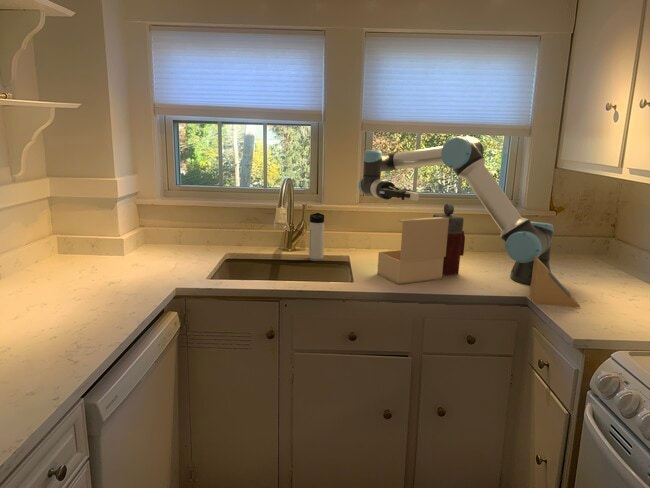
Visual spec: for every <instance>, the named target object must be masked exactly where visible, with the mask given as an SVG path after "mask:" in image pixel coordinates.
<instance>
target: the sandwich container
mask: <svg viewBox="0 0 650 488" xmlns="http://www.w3.org/2000/svg"><path fill="white" fill-rule="evenodd" d="M529 288H530V289H529V298H530V299H531V302H532V303H533V304H537V305H546V306H554V305H556V306H555V307H557V306H558V307H565V306H568V307H567V308H576V307H581V305H580V304H579V302H578V301H577V300H576V299H575V297H574V296H573V295H572V294H571V292H570V291H568V290H567V289H566V287H565V286H563V284H562V283H561V281H559V279H557V277H555V275H554V274H553V273H552V271H551V272H550V271H549V269H548V268H547V267H546V266H545V265H544V264H543V263H542V262H541V261H540V260H539V259H538V258H537V257H536V256H534V263H533V271H532V279H531V284H530V287H529Z"/></svg>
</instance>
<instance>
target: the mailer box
mask: <svg viewBox="0 0 650 488" xmlns="http://www.w3.org/2000/svg"><path fill="white" fill-rule="evenodd" d="M400 255H401V249H397V250H396V249H395V250H386V251H378V258H377V259H378V260H377V273H376V274H377V275H378V276H381V277H382V278H384V279H386V280H389V281H391V282H393V283H394V284H396V285H399V286H400V285H401V286H402V285H408V284H416V283H424V282H432V281H440V280H442V279H443V275H442V272H443V260H444V257H437V258H428V259H418V260H409V261H400Z"/></svg>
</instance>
